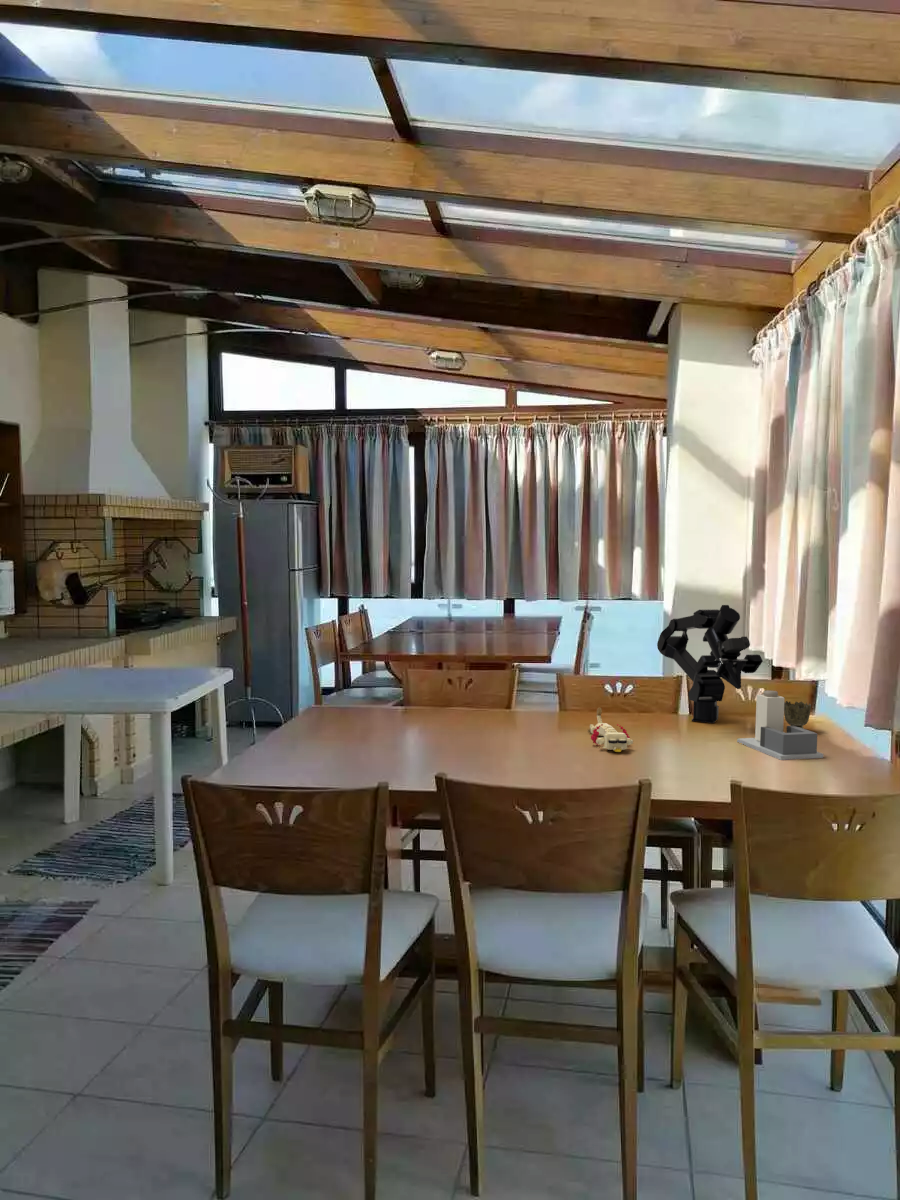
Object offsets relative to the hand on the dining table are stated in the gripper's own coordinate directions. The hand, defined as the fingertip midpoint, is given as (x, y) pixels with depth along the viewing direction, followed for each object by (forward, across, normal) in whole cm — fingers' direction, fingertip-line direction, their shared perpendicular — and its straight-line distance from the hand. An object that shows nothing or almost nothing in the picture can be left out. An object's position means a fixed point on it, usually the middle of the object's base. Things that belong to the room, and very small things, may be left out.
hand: (739, 688), depth 253 cm
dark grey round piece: (+9, +19, +10) cm, 23 cm away
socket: (+23, 0, -5) cm, 24 cm away
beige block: (+19, 0, -2) cm, 19 cm away
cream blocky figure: (+13, -41, +6) cm, 44 cm away
